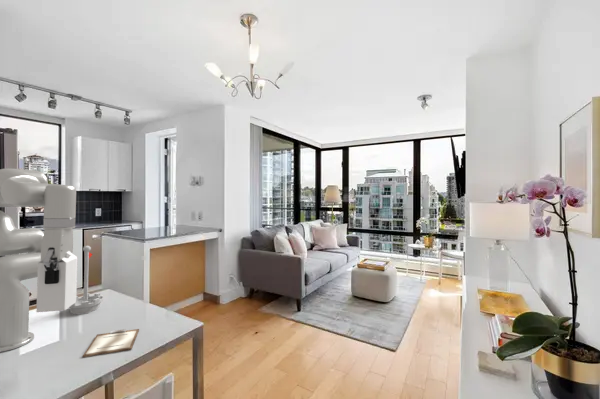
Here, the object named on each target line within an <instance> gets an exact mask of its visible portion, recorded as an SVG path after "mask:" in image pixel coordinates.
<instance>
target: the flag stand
mask: <svg viewBox="0 0 600 399" xmlns="http://www.w3.org/2000/svg"><path fill="white" fill-rule="evenodd" d="M82 250H83V252H84V273H83V274H84V276H83V278H84V279H83V295H82V296H78V295H76V302H75V303H74V304H73V305H71V306H70V307H69V308H68V309H70V312H69V313H70V314H73V315H81V314H87V313H91V312H94V311H97V310H99V309H100V308H101V303H102V302H103V300H104V297H103V296H104V295H103V294H101V293H98V292H95V293H94V294H93V295H91V293H89V263H90V262H89V261H90V258H91V257H92V256H93V253H91V252H90V251H91V250H92V247H91V245H84V246H83V248H82Z"/></svg>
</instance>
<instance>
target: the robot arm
mask: <svg viewBox="0 0 600 399" xmlns="http://www.w3.org/2000/svg"><path fill="white" fill-rule="evenodd" d="M76 205H77V189H76V187H75V186H74V185H70V184H59V183H58V184H57V183H49V181H48V177H47V176H46V174H45V173H43V172H42V171H40V170H33V169H20V168H1V169H0V208H11V207H12V208H38V207H39V208H41V207H42V208H43V230H44V231H43V230H42V229H39V228H36V227H35V228H34V227H31V228H30V227H29V228H17V227H16V226H15V223H14V219H13V218H12V217H11V215H8V214H7V213H5V212H4V211H3V210H0V353H2V352H7V351H11V350H14V349H17V348H20V347H22V346H25V345H27V344H28V343H31V342H32V341H33V340H34V339H35V334H34V333H33V332H30V331H29V329H30V328H29V325H30V324H29V322H30V321H29V320H30V317H29V316H30V291H29V289H28V288H27V287H26V286H25V285H24V284H22V281H26V280H29V279H34V278H38V263H39V262H40V261H42V262H44V266H45V269H44V270H45V284H57V283H58V282H59V270H58V266H59V262H60V261H62V259H63V258H65V257H66V252H68V251H70V252H71V253H72V254H73V249H74V234H73V233H74V232H73V229H76V212H77V211H76V210H77V206H76ZM51 259H57V260H51ZM53 263H55V266H54V264H53Z"/></svg>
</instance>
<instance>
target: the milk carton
mask: <svg viewBox="0 0 600 399" xmlns="http://www.w3.org/2000/svg"><path fill="white" fill-rule="evenodd" d="M51 260H57V259H51ZM53 264H54V266H55V263H53ZM44 269H45V266H44V262H42V261H40V262H39V263H38V277H36V278H37V283H36V284H37V285H36V313H46V312H61V311H66V310H68V309H70V308H69V307H70V306H71V305H73V304H74V303H75V302H76V296H77V291H78V290H77V289H78V288H77V284H78V256H77V255H76V254H74V253H73V252H72V253H71V252H70V251H68V252H66V257H65V258H63V259H62V261H60V262H59V266H58V270H59V282H58V283H57V284H45V270H44Z"/></svg>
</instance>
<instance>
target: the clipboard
mask: <svg viewBox="0 0 600 399" xmlns="http://www.w3.org/2000/svg"><path fill="white" fill-rule="evenodd" d="M139 332H140V329H139V328H136V329H129V330H127V329H126V328H123V329H117V330H115V329H114V330H110V332H106V333H105V332H104V333H98V334H96V335H95V337H94V338H93V340H92V341H91V343H90V344H89V345H88V347H87V348H86V350H85V352H84V353H83V354H82V358H87V357H96V356H100V355H107V354H113V353H119V352H120V353H121V352H126V351H131V350H133V346H134V344H135V341H136V339H137V337H138V334H139Z"/></svg>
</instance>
